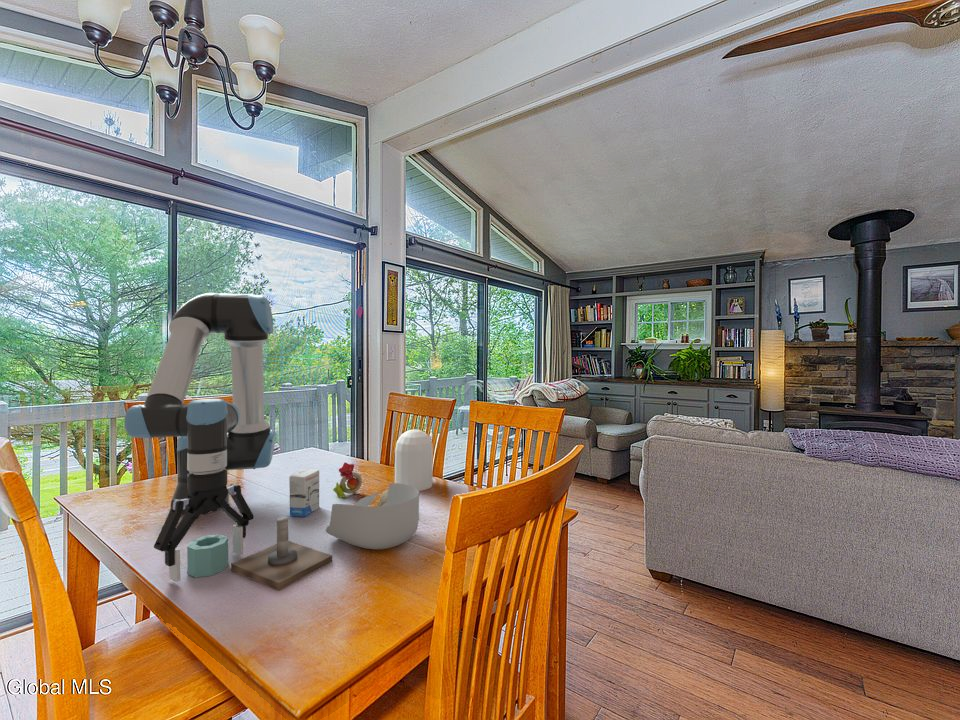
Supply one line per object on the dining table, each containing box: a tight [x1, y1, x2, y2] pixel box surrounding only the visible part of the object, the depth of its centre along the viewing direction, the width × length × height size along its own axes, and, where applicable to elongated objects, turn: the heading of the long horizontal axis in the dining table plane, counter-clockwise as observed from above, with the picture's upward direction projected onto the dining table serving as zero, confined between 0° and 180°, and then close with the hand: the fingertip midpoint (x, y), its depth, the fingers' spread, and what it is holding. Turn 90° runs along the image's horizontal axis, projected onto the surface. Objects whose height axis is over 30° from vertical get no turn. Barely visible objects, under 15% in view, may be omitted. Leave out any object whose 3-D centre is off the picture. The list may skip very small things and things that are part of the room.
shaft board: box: [230, 517, 333, 591], centre depth 101 cm, size 16×14×10 cm
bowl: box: [325, 482, 420, 550], centre depth 116 cm, size 20×19×12 cm
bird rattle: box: [332, 462, 363, 499], centre depth 149 cm, size 6×11×9 cm
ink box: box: [288, 468, 320, 518], centre depth 134 cm, size 9×5×12 cm, turn 168°
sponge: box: [377, 488, 389, 507], centre depth 134 cm, size 9×10×10 cm
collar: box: [186, 534, 229, 578], centre depth 99 cm, size 7×7×6 cm
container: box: [394, 428, 434, 492], centre depth 160 cm, size 14×13×20 cm
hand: (208, 565), depth 99 cm, fingers open, 13 cm apart
